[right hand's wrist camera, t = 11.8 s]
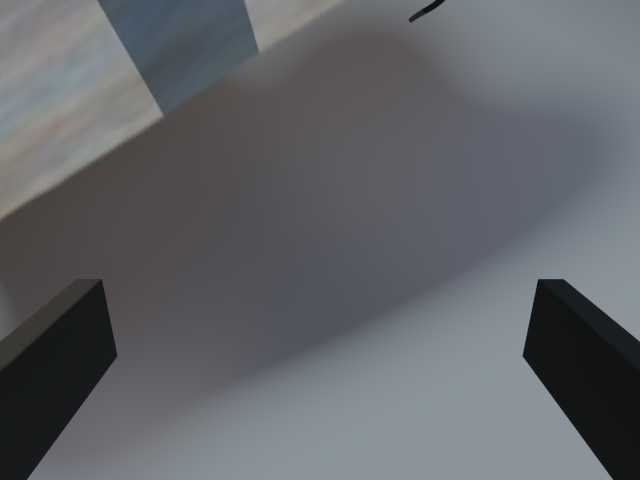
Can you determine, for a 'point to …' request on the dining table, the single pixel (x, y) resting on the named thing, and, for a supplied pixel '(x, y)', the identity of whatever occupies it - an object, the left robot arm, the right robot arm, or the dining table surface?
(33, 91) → the dining table surface
